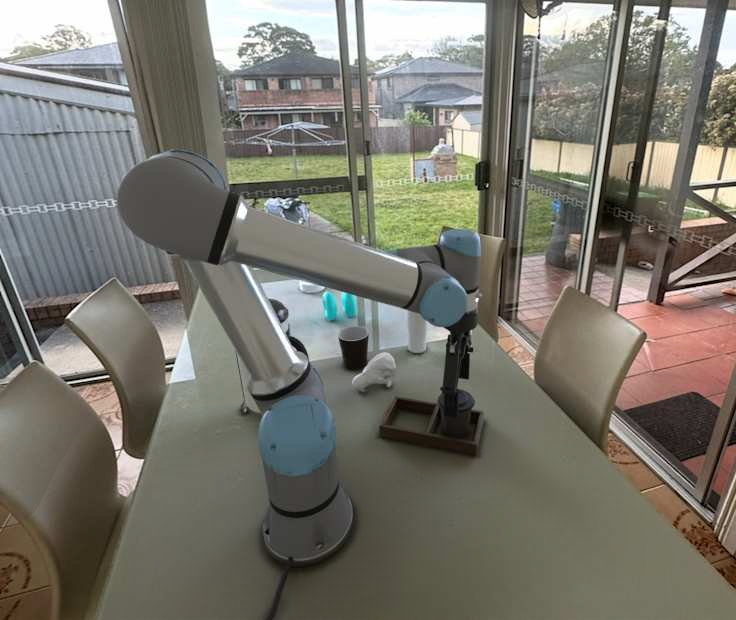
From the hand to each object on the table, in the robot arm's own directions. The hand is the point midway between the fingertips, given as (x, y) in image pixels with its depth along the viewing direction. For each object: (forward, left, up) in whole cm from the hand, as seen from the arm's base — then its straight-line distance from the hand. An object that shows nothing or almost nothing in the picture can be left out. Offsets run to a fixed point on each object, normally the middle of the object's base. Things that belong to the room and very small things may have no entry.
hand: (457, 395), depth 95 cm
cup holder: (0, +5, -10) cm, 12 cm away
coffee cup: (0, 0, -10) cm, 10 cm away
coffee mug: (+22, +33, -10) cm, 41 cm away
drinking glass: (+33, +18, -10) cm, 39 cm away
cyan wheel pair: (+47, +50, -10) cm, 70 cm away
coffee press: (-2, +44, -10) cm, 46 cm away
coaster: (+68, +72, -10) cm, 100 cm away
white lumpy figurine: (+12, +24, -10) cm, 29 cm away
